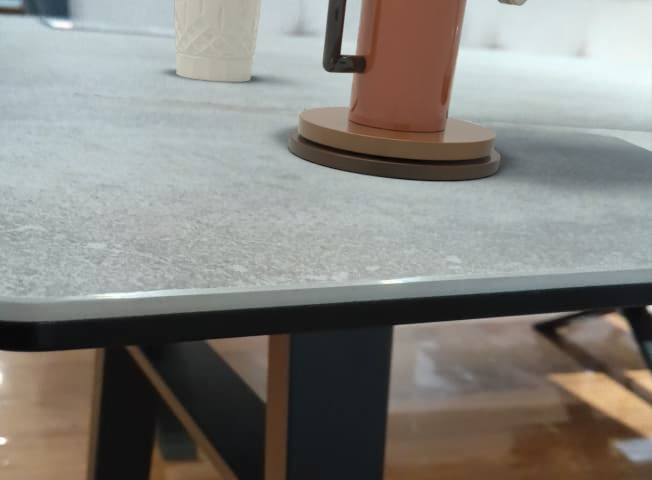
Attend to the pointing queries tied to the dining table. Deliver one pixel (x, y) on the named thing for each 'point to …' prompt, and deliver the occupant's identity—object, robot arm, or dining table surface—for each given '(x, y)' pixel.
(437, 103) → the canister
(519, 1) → the robot arm
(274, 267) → the dining table surface
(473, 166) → the lazy susan base
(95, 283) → the dining table surface
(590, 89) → the dining table surface
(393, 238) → the dining table surface
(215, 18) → the white cup
